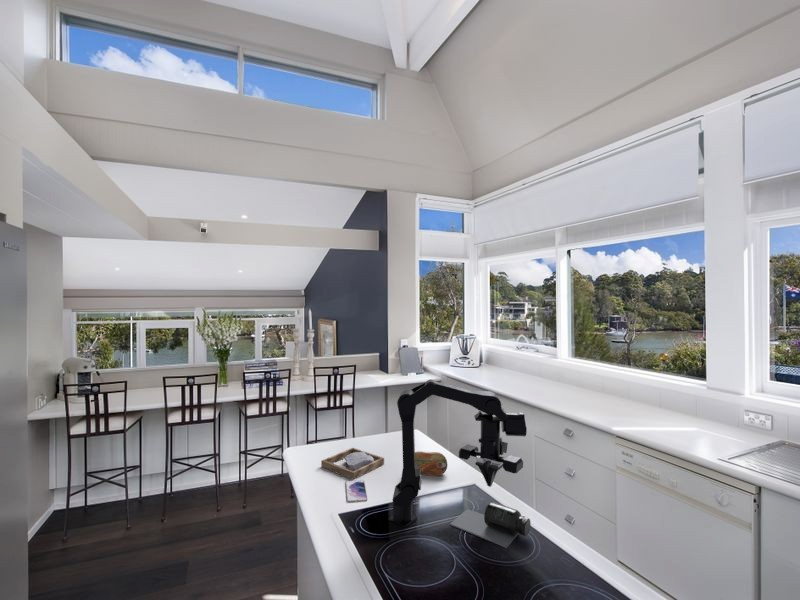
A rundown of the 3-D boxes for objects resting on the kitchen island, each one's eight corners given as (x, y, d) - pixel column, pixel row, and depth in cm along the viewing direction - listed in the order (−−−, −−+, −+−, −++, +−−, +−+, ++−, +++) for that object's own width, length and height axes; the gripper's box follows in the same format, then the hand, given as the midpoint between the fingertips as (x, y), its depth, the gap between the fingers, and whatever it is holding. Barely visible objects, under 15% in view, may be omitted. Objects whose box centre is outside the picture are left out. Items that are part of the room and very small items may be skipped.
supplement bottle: (495, 511, 125) (533, 525, 118) (486, 530, 121) (525, 546, 113) (491, 496, 123) (529, 509, 116) (481, 514, 118) (521, 529, 111)
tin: (408, 474, 157) (408, 452, 157) (409, 470, 160) (409, 449, 160) (447, 476, 155) (447, 455, 155) (447, 473, 158) (447, 451, 158)
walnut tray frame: (353, 479, 152) (353, 472, 152) (321, 466, 163) (321, 460, 163) (384, 464, 166) (384, 458, 166) (352, 453, 177) (352, 447, 177)
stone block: (355, 477, 157) (377, 467, 163) (353, 466, 157) (375, 455, 162) (342, 467, 167) (363, 458, 173) (340, 457, 167) (361, 447, 172)
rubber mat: (506, 548, 111) (506, 546, 111) (450, 525, 122) (450, 523, 122) (521, 530, 120) (521, 528, 120) (467, 509, 131) (467, 508, 131)
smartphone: (364, 480, 151) (367, 500, 136) (364, 482, 151) (367, 502, 136) (345, 481, 149) (346, 501, 135) (345, 483, 149) (346, 503, 135)
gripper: (530, 434, 123) (529, 485, 123) (474, 422, 134) (474, 468, 134) (516, 444, 114) (515, 499, 114) (458, 431, 125) (457, 480, 125)
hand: (489, 486), depth 122 cm, fingers closed
